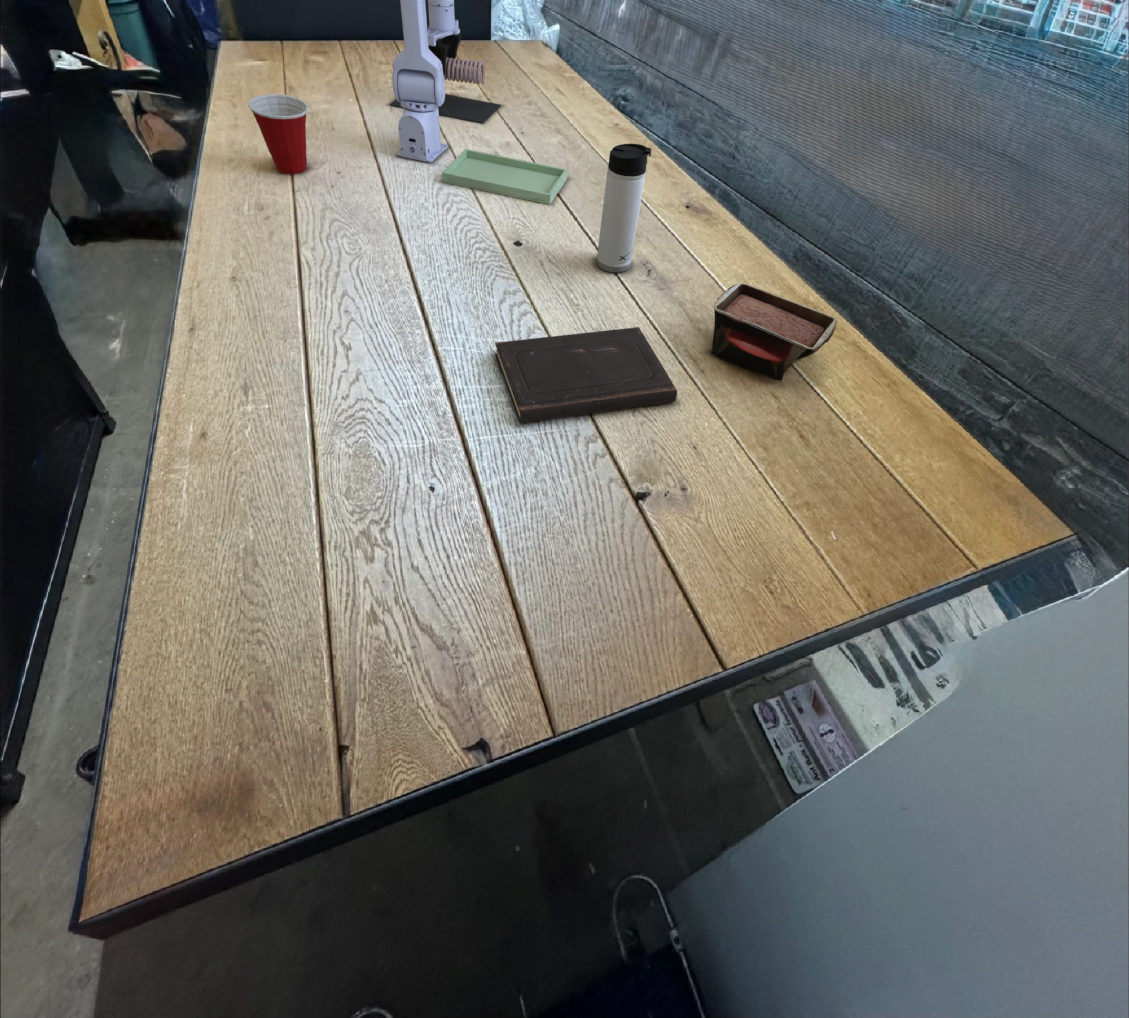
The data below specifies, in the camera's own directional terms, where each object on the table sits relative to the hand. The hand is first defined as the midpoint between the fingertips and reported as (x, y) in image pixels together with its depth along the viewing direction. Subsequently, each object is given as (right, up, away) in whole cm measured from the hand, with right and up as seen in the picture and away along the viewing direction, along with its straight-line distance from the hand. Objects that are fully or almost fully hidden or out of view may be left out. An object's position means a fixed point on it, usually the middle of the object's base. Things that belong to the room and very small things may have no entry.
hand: (444, 73), depth 156 cm
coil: (0, -1, +1) cm, 2 cm away
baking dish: (+60, -79, -52) cm, 112 cm away
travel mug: (+38, -60, -37) cm, 80 cm away
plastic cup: (-27, -35, -23) cm, 50 cm away
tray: (+16, -35, -19) cm, 43 cm away
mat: (-1, -4, +5) cm, 7 cm away
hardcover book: (+31, -85, -60) cm, 109 cm away
